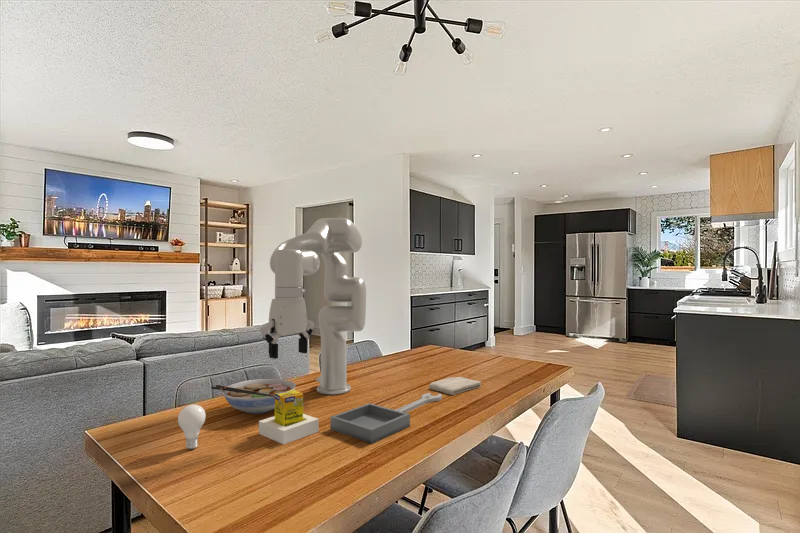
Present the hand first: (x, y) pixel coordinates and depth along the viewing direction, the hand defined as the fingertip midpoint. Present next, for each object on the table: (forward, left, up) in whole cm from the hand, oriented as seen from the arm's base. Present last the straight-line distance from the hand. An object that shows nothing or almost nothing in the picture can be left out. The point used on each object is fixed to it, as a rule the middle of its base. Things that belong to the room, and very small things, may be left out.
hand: (288, 355), depth 118 cm
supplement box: (0, 0, -22) cm, 22 cm away
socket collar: (0, 0, -21) cm, 21 cm away
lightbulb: (-10, -22, -22) cm, 32 cm away
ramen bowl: (-23, +6, -22) cm, 32 cm away
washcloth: (+12, +68, -22) cm, 72 cm away
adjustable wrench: (+12, +42, -22) cm, 49 cm away
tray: (+15, +17, -21) cm, 31 cm away
